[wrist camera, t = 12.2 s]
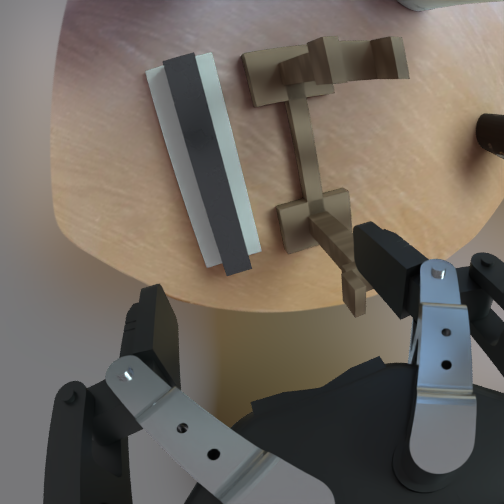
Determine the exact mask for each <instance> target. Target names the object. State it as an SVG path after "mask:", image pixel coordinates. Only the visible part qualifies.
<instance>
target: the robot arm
mask: <svg viewBox="0 0 504 504" xmlns="http://www.w3.org/2000/svg"><path fill="white" fill-rule="evenodd" d="M397 1H398V2H399V3H401V4H402V5H403V6H405V7H407V8H409V9H411V10H414V11H424V10H431V9H435V8H442V7H448V6H455V5H463V4H472V3H483V2H498V1H504V0H397ZM353 241H354V260H355V264H356V267H357V269H358V271H359V272H360V274H361V275H362V276H363V277H364V278H365V279H366V280H367V281H368V283H369V284H370V285H371V286H372V287H373V288H374V289H375V291H376V292H377V293H378V294H379V295H380V296H381V297H382V298H383V300H384V301H385V302H386V303H387V304H388V305H389V307H390V308H391V309H392V310H393V311H394V313H395V314H396V315H397V316H398V317H399V318H400V319H403V318H405V317H407V316H410V315H411V316H412V317H413V321H412V328H411V340H410V350H409V358H408V363H388V364H384V362H383V361H382V359H381V358H380V356H378V357H376V358H374V359H371V360H369V361H367V362H364V363H362V364H359V365H357V366H355V367H352V368H350V369H348V370H347V371H346V372H344V373H343V374H341V375H340V376H338V377H337V378H335V379H334V380H332V381H331V382H329V383H328V384H326V385H325V386H323V387H320V388H315V389H308V390H299V391H291V392H283V393H280V394H276V395H273V396H270V397H267V398H263V399H260V400H256V401H253V402H251V405H252V409H253V412H251V413H249V414H247V415H246V416H244V417H243V418H241V419H240V420H239V421H238V422H236V423H235V424H234V425H233V426H232V427H231V428H228V427H227V426H226V425H224V424H223V423H222V422H220V421H219V420H217V419H216V418H215V417H214V416H212V415H211V414H210V413H208V412H207V411H206V410H204V409H203V408H202V407H200V406H199V405H198V404H197V403H195V402H194V401H193V400H191V399H190V398H189V397H188V396H186V395H185V394H184V393H183V392H182V391H181V383H180V365H179V338H178V323H177V319H176V316H175V314H174V311H173V309H172V307H171V305H170V303H169V301H168V299H167V297H166V294H165V292H164V290H163V288H162V286H161V285H160V284H156V285H152V286H149V287H146V288H142V289H141V293H140V299H139V303H135V304H133V305H132V307H131V308H130V310H129V311H128V313H127V317H126V321H125V324H126V325H125V327H124V333H123V339H122V345H121V351H120V357H119V359H117V360H116V361H114V362H113V363H112V364H111V365H110V366H109V368H108V370H107V372H106V376H105V380H103V381H101V382H99V383H97V384H95V385H93V386H91V387H89V388H86V387H85V385H84V384H83V383H81V382H79V381H72V382H69V383H67V384H65V385H64V386H63V387H62V388H61V389H60V390H59V391H58V393H57V394H56V397H55V401H54V406H53V412H52V418H51V424H50V431H49V438H48V447H47V456H46V467H45V479H44V500H43V504H133V503H132V493H131V482H130V469H129V451H128V436H129V435H131V434H133V433H135V432H137V431H140V430H142V429H144V430H145V431H146V432H147V433H148V434H149V435H150V436H151V437H152V438H153V439H154V440H155V441H156V442H157V443H158V444H159V446H161V447H162V449H163V450H164V451H165V452H166V453H167V454H168V455H169V456H170V457H172V458H173V459H174V460H175V461H176V462H177V463H178V464H179V465H180V466H181V467H182V468H183V469H184V470H185V471H186V472H187V473H189V474H190V475H191V476H192V477H193V478H194V479H195V480H196V481H198V482H197V483H196V485H195V487H194V488H193V490H192V492H191V493H190V495H189V496H188V498H187V500H186V501H185V503H184V504H504V393H501V392H498V391H495V390H491V389H488V388H484V387H482V386H478V385H475V384H472V355H471V338H470V335H471V336H472V337H473V338H474V340H475V341H476V342H477V343H478V344H479V346H480V347H481V348H482V349H483V351H484V352H485V353H486V354H487V356H488V357H489V358H490V360H491V361H492V362H493V364H494V365H495V366H496V367H497V369H498V370H499V371H500V373H501V374H502V375H503V377H504V322H503V321H502V320H501V319H500V317H499V316H498V315H497V314H496V313H495V312H494V311H493V310H492V309H491V305H492V301H493V300H494V301H495V302H496V303H497V304H498V305H500V307H501V308H502V309H503V310H504V263H503V262H502V261H501V260H500V259H498V258H497V257H496V256H494V255H492V254H489V253H476V254H474V255H473V256H472V258H471V263H470V266H468V267H461V268H455V267H454V266H453V265H452V264H451V263H449V262H447V261H445V260H441V259H430V260H429V259H427V258H426V257H425V256H424V255H422V254H421V253H420V252H419V251H418V250H416V249H415V248H414V247H413V246H411V245H409V243H407V242H406V241H405V240H403V239H402V238H401V237H400V236H398V235H397V234H396V233H394V232H391V231H388V230H386V229H384V230H382V229H381V228H380V227H378V226H377V225H376V224H374V223H373V222H371V221H370V222H366V223H363V224H360V225H356V226H354V228H353Z"/></svg>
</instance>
